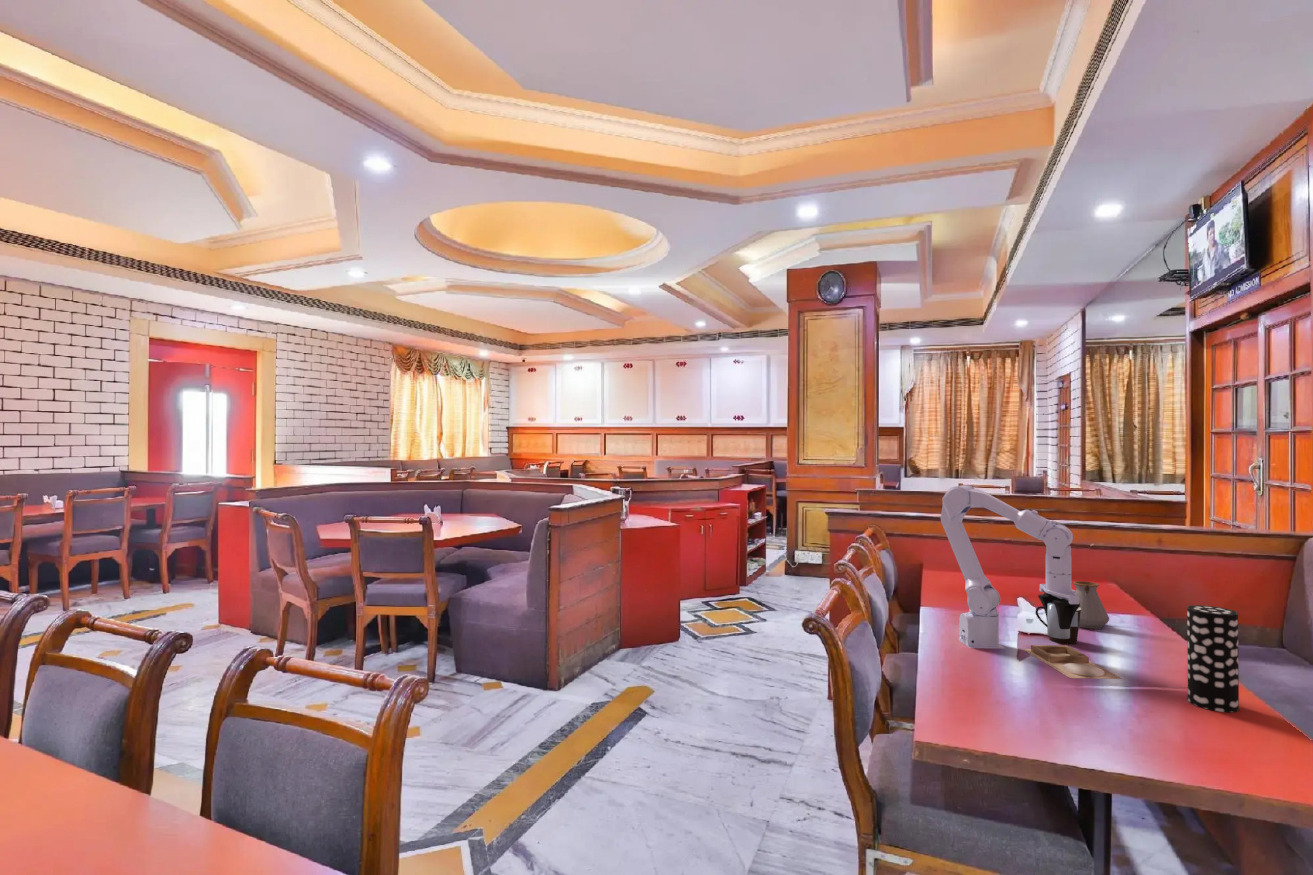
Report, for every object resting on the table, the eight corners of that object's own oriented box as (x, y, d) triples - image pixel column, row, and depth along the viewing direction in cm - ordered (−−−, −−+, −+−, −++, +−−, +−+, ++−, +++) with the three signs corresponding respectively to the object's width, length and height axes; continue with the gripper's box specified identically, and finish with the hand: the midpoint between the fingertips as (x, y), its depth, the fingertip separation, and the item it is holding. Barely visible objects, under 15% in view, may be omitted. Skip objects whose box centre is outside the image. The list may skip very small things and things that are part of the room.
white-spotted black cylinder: (1230, 700, 144) (1230, 607, 144) (1245, 715, 136) (1244, 616, 136) (1182, 694, 147) (1182, 603, 147) (1194, 708, 140) (1193, 612, 140)
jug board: (1069, 680, 156) (1069, 670, 156) (1022, 651, 178) (1022, 642, 178) (1122, 681, 156) (1122, 671, 156) (1068, 651, 177) (1068, 643, 178)
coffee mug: (1088, 647, 181) (1088, 610, 181) (1056, 647, 181) (1055, 610, 181) (1063, 635, 193) (1062, 600, 193) (1032, 635, 193) (1032, 600, 193)
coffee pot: (1064, 618, 211) (1064, 571, 211) (1108, 623, 205) (1108, 574, 205) (1063, 634, 193) (1063, 583, 193) (1111, 641, 187) (1111, 587, 187)
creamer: (1054, 638, 169) (1054, 606, 169) (1043, 632, 174) (1043, 602, 174) (1082, 639, 169) (1082, 607, 169) (1071, 633, 174) (1071, 602, 174)
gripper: (1091, 578, 164) (1091, 634, 164) (1058, 567, 179) (1058, 618, 178) (1062, 578, 164) (1062, 633, 164) (1031, 567, 179) (1031, 618, 179)
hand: (1058, 625), depth 171 cm, fingers closed on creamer, 5 cm apart
